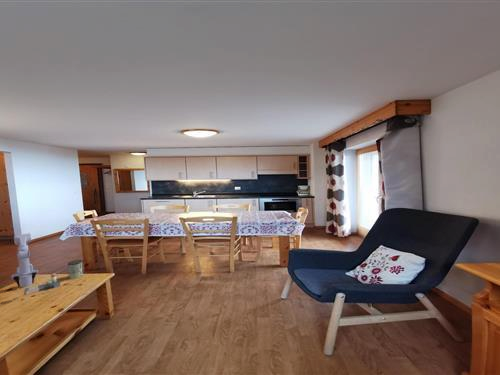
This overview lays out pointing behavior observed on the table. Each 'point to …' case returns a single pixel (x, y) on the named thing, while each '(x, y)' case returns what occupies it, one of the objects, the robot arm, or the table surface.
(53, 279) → the marker
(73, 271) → the coffee can
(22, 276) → the robot arm
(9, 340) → the table surface
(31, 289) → the activity board
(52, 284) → the button housing
